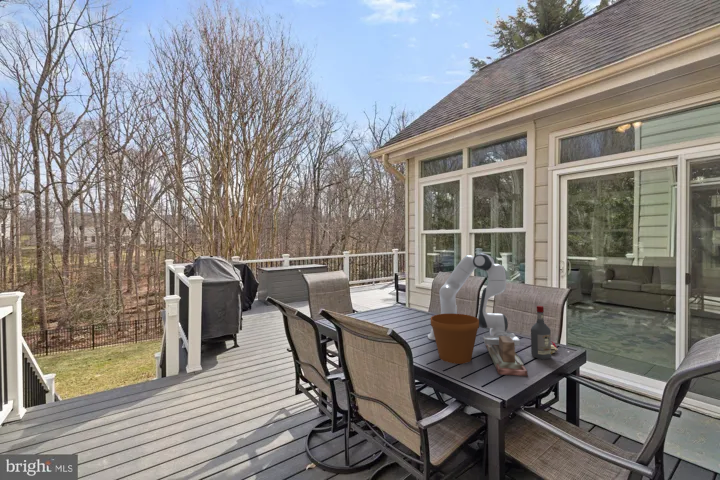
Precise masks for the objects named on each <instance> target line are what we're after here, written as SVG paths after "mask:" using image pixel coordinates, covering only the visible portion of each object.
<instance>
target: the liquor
mask: <svg viewBox="0 0 720 480" xmlns="http://www.w3.org/2000/svg"><path fill="white" fill-rule="evenodd" d="M544 309H545V307H544V306H543V305H536V322H535V323H534V324H533V325H532V326H531V329H530V348H531V350H530V351H531V353H530V354H531V356H532V357H534V358H536V359H538V360H548V359H551V357H552V354H551V345H552V342H551V341H552V340H551V339H552V337H551V336H552V335H551V333H552V332H551V331H552V330H551V328H550V327H549V326H548V325H547V324H546V323H545V320H544Z"/></svg>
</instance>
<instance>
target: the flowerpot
mask: <svg viewBox="0 0 720 480" xmlns="http://www.w3.org/2000/svg"><path fill="white" fill-rule="evenodd" d="M430 326H431V329H432V328H433V332H434V336H435V340H434V341H435V344H436V348H437V352H438V356H439V359H440V360H441V361H444V362H446V363H450V364H455V365H456V364H457V365H458V364H459V365H460V364H466V363H470V362H471V361H472V359H473V352H474V350H475V349H474V348H475V344H476V338H477V333H478V329H479V328H480V326H479V319H478V318H477V317H476V316H473V315H470V314H462V313H457V314H441V313H439V314H435V315H432V316H430Z"/></svg>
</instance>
